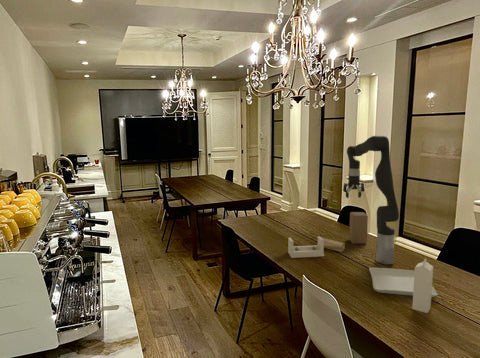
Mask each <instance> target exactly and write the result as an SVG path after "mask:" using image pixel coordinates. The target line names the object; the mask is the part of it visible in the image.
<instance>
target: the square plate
mask: <svg viewBox="0 0 480 358" xmlns="http://www.w3.org/2000/svg"><path fill="white" fill-rule="evenodd" d="M368 271H369V273H370V275H371V280H372V288H373V290H374V291H375V292H377V293H382V294H389V295H390V294H391V295H392V294H393V295H402V296H411V297H413V289H414V273H415V270H412V269H401V268H400V269H399V268H389V267H368ZM438 295H439V294H438V292H437V291H436V289H435V287H434V286H433V285H432V294H431V298H434V297H436V296H438Z"/></svg>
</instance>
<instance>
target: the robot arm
mask: <svg viewBox="0 0 480 358" xmlns="http://www.w3.org/2000/svg"><path fill="white" fill-rule="evenodd" d="M390 151H391V150H390V140H389V138H388V136H387V135H371V136H370V137H369V138H367V139H366V140H364V142H361V143H358V144H357V145H350V146H348V147H347V149H346V154H347V159H348V173H347V174H348V181H347V183H345V182H344V183H343V189H342V192H344V193H345V197H346V199H349V198H350V192H351V191H352V190H356V191H358V192H357V198H361V197H362V192H365V183H364V182H360V181H361V179H360V177H361V161H360V160H359V159H355V157H361V156H363V155H364V154H367V153H368V152H380V157H381V158H380V161H379V163H378V165H377V167H376V170H375V172H374V177H375V185H376V186H377V188H378V189H379V190H380V192H381V193H382V194H383V195H384V197H385V200H386V202H387V205H379V206H378V207H377V209H376V231H377V232H376V234H377V235H376V249H375V250H376V254H375V255H376V257H375V261H376V262H377V263H379V264H381V265H394V260H395V248H394V247H395V228H393V227H392V226H388V225H387V223H394V222H397V221H398V220H399V217H400V213H399V208H398V204H397V199H396V195H395V187H394V179H393V172H392V167H391V166H392V165H391V155H390V154H391V153H390Z"/></svg>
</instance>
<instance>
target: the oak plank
mask: <svg viewBox="0 0 480 358" xmlns="http://www.w3.org/2000/svg"><path fill="white" fill-rule="evenodd" d="M322 239H323V240H324V249H327V250H331V251H337V252H340V253H341V252H343V251H345V249H346V248H345V244H346V243H345V242H343V241H339V240H333V239H328V238H323V237H322Z"/></svg>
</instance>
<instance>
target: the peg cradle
mask: <svg viewBox="0 0 480 358" xmlns="http://www.w3.org/2000/svg"><path fill="white" fill-rule="evenodd" d="M287 240H288V241H287V242H288V243H287V245H288V246H287V247H288V248H287V249H288V251H287V253H288V256H290V258H291V259H296V258H316V257H325V254H324V249H325V248H324V240H323V237H322V236H317V244H315V245H297V246H296V245H295V246H294V240H293V238H291V237H288V239H287Z"/></svg>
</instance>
